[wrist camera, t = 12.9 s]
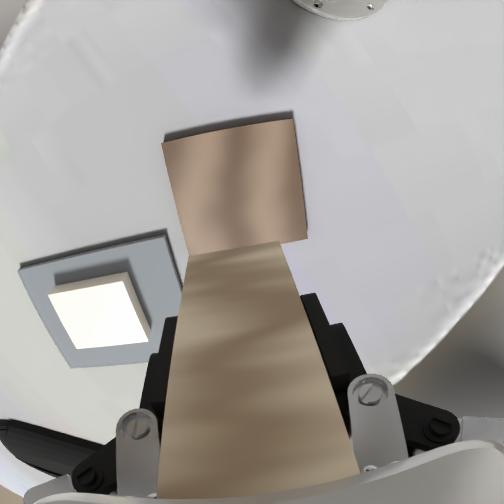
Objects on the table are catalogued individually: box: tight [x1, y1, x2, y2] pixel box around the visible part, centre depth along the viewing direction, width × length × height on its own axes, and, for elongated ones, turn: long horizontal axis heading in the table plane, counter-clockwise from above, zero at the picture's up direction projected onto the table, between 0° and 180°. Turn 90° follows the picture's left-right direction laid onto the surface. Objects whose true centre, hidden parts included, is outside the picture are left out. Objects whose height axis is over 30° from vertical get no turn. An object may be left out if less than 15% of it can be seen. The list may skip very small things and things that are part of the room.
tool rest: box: [161, 119, 308, 256], centre depth 30 cm, size 12×12×1 cm
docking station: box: [0, 420, 103, 478], centre depth 49 cm, size 25×40×5 cm, turn 79°
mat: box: [18, 234, 182, 368], centre depth 34 cm, size 20×16×1 cm
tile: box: [48, 272, 151, 349], centre depth 33 cm, size 10×2×8 cm
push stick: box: [157, 241, 360, 499], centre depth 10 cm, size 4×4×11 cm
